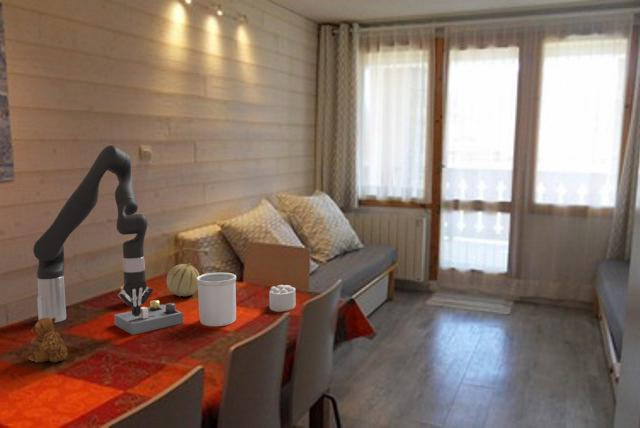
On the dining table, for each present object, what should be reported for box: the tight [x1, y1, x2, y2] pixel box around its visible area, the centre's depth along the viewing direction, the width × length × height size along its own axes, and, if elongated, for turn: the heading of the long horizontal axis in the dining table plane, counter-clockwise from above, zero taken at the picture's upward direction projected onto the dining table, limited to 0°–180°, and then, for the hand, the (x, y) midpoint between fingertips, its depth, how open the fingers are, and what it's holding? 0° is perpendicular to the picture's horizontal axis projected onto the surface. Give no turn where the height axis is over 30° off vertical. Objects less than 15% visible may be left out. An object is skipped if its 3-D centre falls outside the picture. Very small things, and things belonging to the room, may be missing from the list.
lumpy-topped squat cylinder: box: [268, 284, 297, 313], centre depth 232 cm, size 10×13×9 cm
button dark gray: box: [164, 302, 176, 313], centre depth 212 cm, size 4×4×3 cm
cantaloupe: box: [166, 262, 200, 297], centre depth 251 cm, size 15×15×15 cm
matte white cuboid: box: [140, 306, 149, 319], centre depth 205 cm, size 2×3×4 cm, turn 42°
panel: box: [113, 304, 184, 336], centre depth 211 cm, size 20×16×4 cm
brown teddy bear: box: [28, 317, 69, 363], centre depth 175 cm, size 10×14×13 cm
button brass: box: [149, 299, 161, 310], centre depth 216 cm, size 4×4×3 cm
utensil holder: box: [197, 272, 237, 327], centre depth 213 cm, size 15×15×18 cm
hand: (136, 315), depth 203 cm, fingers closed
